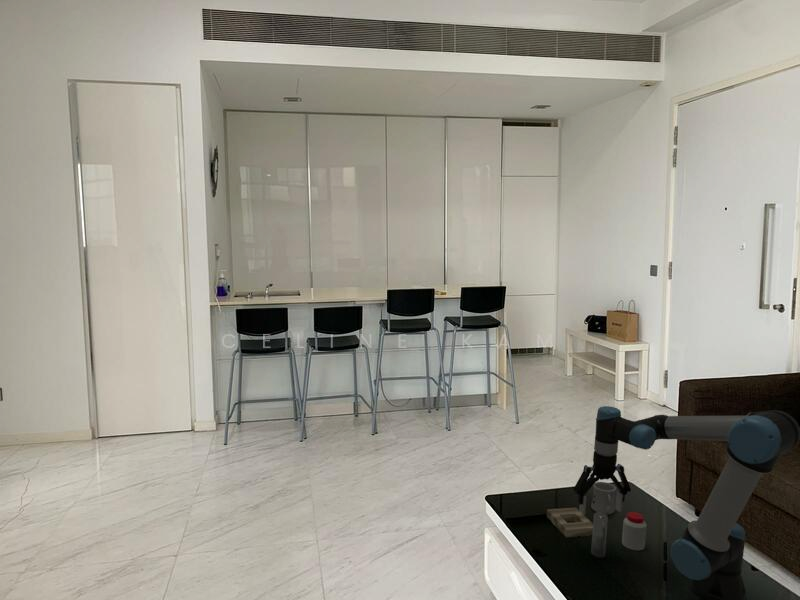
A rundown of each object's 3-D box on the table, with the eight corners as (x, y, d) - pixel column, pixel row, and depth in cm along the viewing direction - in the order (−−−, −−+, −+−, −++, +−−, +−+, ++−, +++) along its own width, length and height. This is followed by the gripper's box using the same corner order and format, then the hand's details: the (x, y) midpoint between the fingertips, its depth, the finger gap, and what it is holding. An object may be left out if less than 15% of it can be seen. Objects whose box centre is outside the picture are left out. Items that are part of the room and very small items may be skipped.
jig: (596, 535, 219) (596, 527, 218) (565, 537, 216) (566, 529, 216) (575, 514, 234) (575, 507, 234) (546, 516, 232) (547, 509, 232)
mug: (588, 504, 244) (589, 480, 243) (610, 505, 244) (612, 482, 243) (597, 518, 232) (598, 494, 231) (620, 519, 232) (622, 495, 230)
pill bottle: (646, 551, 208) (649, 521, 207) (623, 548, 210) (625, 519, 209) (642, 540, 216) (644, 511, 215) (620, 538, 217) (622, 509, 216)
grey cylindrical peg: (607, 557, 204) (610, 518, 203) (595, 558, 203) (598, 519, 202) (600, 549, 209) (603, 511, 207) (588, 550, 208) (591, 512, 206)
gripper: (632, 446, 208) (627, 504, 211) (566, 449, 203) (561, 508, 206) (645, 455, 201) (639, 514, 203) (576, 457, 196) (571, 518, 198)
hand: (600, 511), depth 205 cm, fingers open, 13 cm apart
